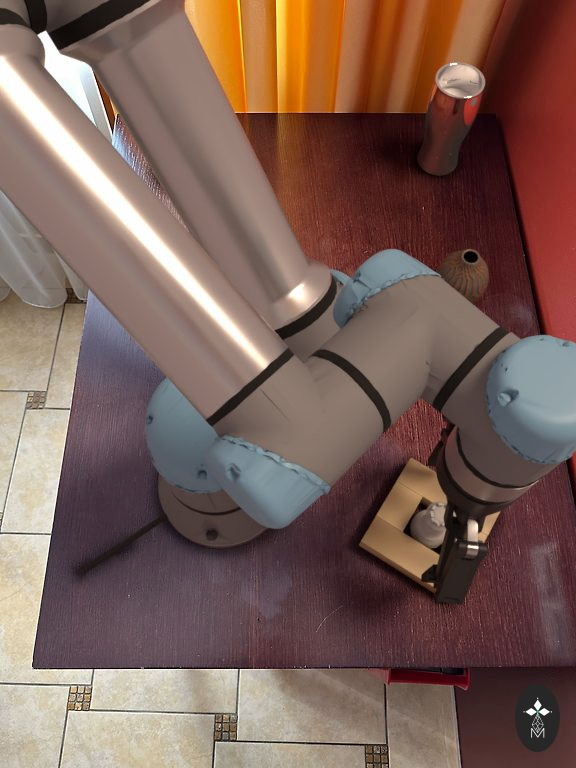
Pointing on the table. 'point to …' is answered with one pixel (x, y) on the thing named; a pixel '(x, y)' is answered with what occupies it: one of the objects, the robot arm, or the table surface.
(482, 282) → the vase
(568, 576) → the table surface
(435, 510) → the rook chess piece
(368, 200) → the table surface
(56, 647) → the table surface
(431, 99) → the chrome pint tumbler
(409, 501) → the square wooden frame
